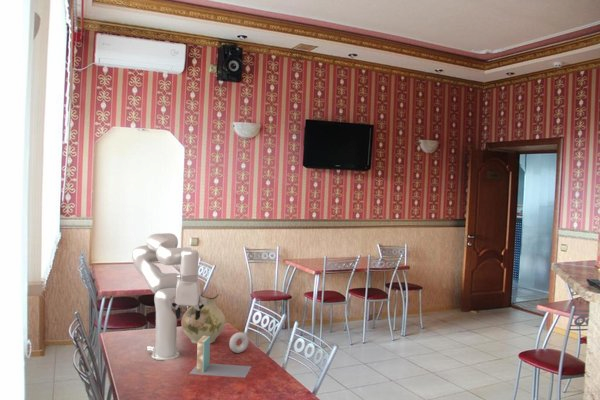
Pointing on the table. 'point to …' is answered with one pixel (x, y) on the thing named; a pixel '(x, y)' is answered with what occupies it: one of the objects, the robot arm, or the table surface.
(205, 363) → the tan rectangular package
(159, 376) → the table surface
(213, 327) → the pitcher
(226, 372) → the mat
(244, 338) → the donut
